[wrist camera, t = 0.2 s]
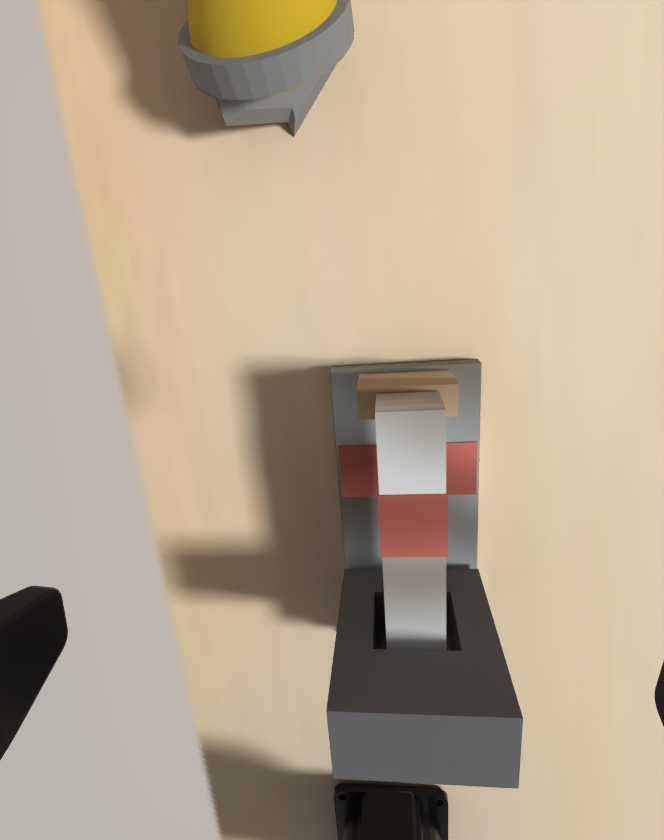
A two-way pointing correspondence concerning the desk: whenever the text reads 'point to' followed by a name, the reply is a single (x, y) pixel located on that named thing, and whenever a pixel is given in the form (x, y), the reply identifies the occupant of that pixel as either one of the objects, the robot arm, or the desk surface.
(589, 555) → the desk surface
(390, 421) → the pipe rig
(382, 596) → the collar
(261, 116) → the yellow cone
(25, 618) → the robot arm
